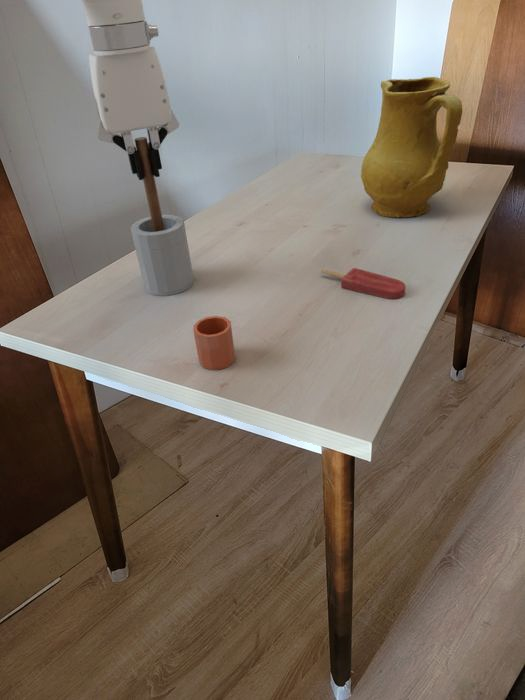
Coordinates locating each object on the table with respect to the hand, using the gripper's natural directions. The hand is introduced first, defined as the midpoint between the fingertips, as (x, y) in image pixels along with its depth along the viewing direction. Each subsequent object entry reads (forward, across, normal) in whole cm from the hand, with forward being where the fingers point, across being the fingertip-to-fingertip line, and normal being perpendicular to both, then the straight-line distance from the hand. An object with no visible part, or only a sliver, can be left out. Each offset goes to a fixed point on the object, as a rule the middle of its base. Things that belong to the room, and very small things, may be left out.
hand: (148, 175), depth 81 cm
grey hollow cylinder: (+19, 0, 0) cm, 19 cm away
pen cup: (+19, -1, +26) cm, 32 cm away
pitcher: (+19, -53, -9) cm, 57 cm away
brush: (+15, 0, 0) cm, 15 cm away
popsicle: (+19, -29, +16) cm, 38 cm away
